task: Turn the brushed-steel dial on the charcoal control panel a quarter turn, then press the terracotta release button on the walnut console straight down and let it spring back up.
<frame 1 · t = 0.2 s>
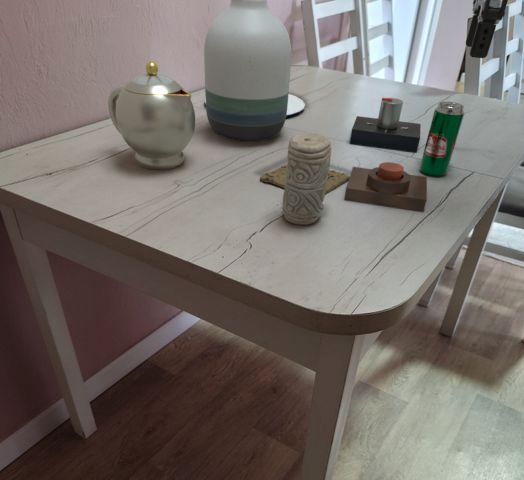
hand: (474, 51, 68), 22 cm above the table, tool pointing down, fingers open, 8 cm apart
carving: (301, 219, 76), on the table
plate: (254, 107, 121), on the table
soda can: (432, 173, 93), on the table
dial: (389, 112, 102), point 6 cm above the table, hinge at 0.0°
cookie: (305, 180, 87), on the table
teapot: (153, 161, 91), on the table
vase: (246, 135, 105), on the table
button console: (385, 194, 84), on the table
release button: (390, 171, 80), point 4 cm above the table, slide at 0.1 cm
dial panel: (384, 140, 106), on the table
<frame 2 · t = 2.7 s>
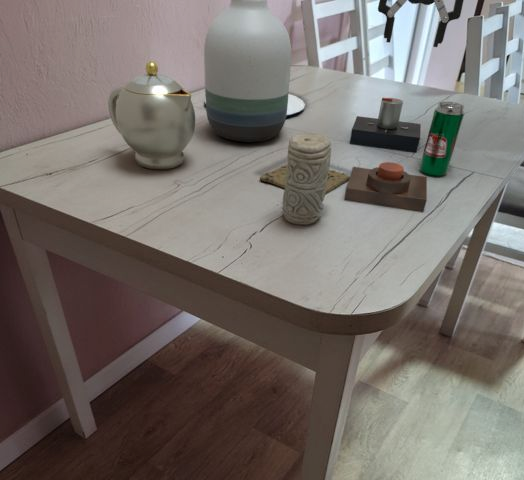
hand: (411, 44, 90), 19 cm above the table, tool pointing down, fingers open, 8 cm apart
nothing on the table moved.
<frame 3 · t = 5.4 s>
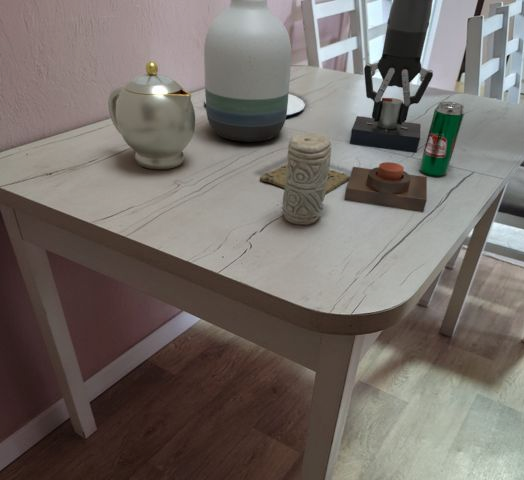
hand: (387, 121, 103), 4 cm above the table, tool pointing down, fingers closed on dial, 4 cm apart
dial: (389, 112, 102), point 6 cm above the table, hinge at 0.0°, touching gripper
everything else where it was.
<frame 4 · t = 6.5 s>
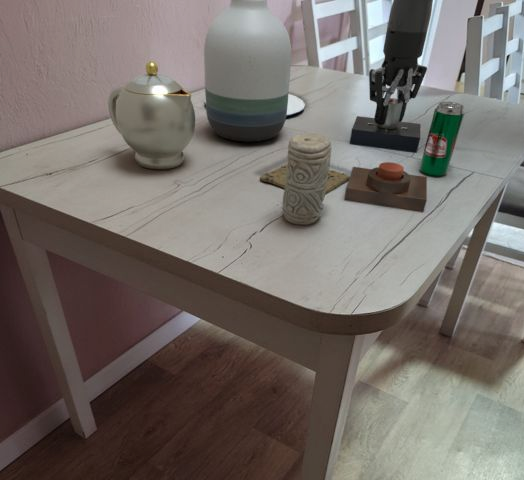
hand: (388, 121, 103), 4 cm above the table, tool pointing down, fingers closed on dial, 4 cm apart
dial: (389, 112, 102), point 6 cm above the table, hinge at 46.3°, touching gripper
everything else where it was.
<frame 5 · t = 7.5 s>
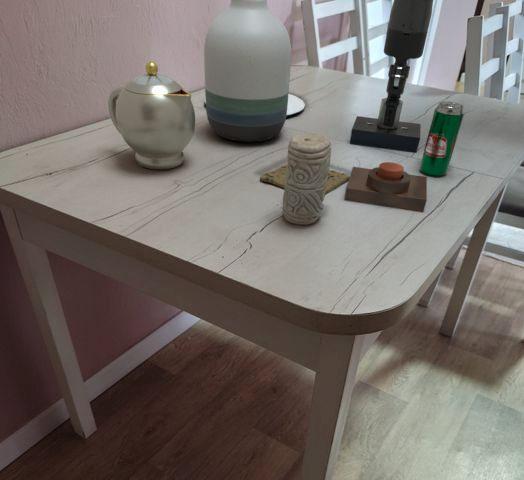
hand: (388, 121, 103), 4 cm above the table, tool pointing down, fingers closed on dial, 4 cm apart
dial: (389, 112, 102), point 6 cm above the table, hinge at 93.2°, touching gripper
everything else where it was.
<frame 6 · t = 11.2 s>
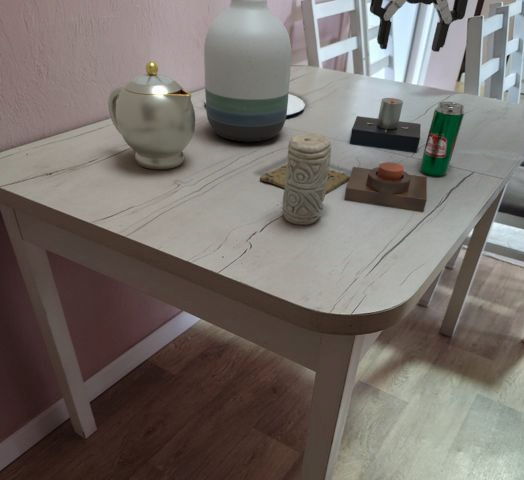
hand: (408, 49, 78), 20 cm above the table, tool pointing down, fingers open, 8 cm apart
dial: (389, 112, 102), point 6 cm above the table, hinge at 92.7°
everything else where it was.
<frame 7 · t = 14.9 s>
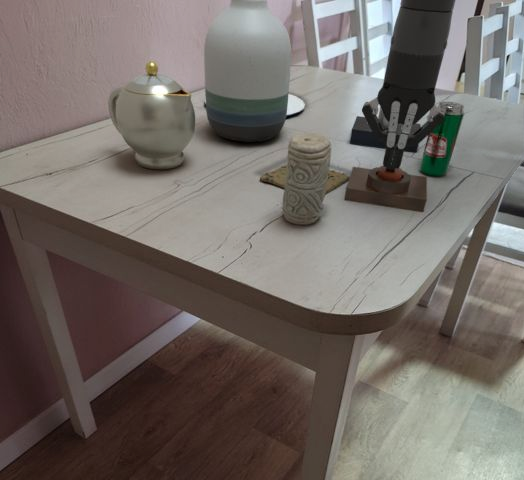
hand: (390, 169, 80), 5 cm above the table, tool pointing down, fingers closed
release button: (389, 175, 80), point 4 cm above the table, slide at -0.4 cm, touching gripper
everything else where it was.
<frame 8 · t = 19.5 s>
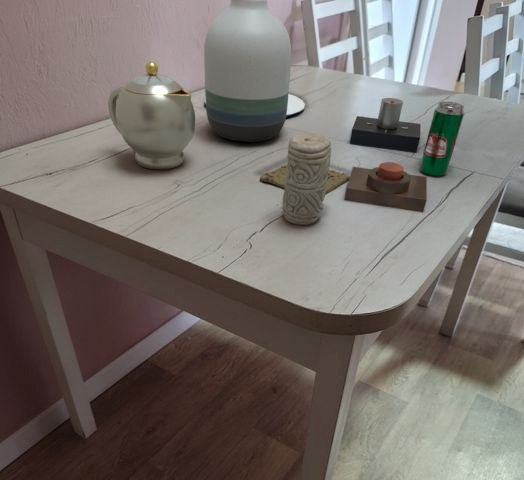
release button: (390, 171, 80), point 4 cm above the table, slide at 0.1 cm
everything else where it was.
at the end: dial at +93° (first picture: +0°); release button pushed in 1.1 cm at the most during the clip, back to where it started at the end; release button slide at 0.1 cm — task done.
